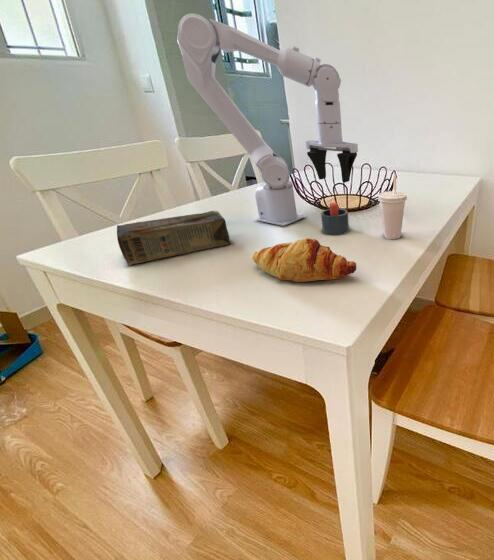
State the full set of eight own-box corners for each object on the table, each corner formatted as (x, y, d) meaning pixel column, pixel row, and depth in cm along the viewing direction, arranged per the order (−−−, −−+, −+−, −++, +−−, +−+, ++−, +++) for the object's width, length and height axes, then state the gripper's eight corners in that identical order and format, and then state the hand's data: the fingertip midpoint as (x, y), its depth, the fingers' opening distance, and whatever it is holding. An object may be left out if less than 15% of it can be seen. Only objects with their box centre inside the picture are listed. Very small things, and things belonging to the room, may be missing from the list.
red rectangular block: (329, 229, 82) (327, 204, 79) (334, 226, 84) (332, 202, 81) (336, 230, 81) (334, 205, 79) (341, 227, 83) (339, 203, 80)
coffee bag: (232, 244, 75) (225, 215, 72) (126, 268, 65) (112, 235, 62) (224, 234, 81) (217, 207, 77) (125, 254, 71) (112, 223, 67)
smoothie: (403, 242, 76) (404, 178, 70) (375, 240, 77) (373, 176, 71) (408, 232, 82) (409, 172, 75) (382, 230, 83) (381, 170, 76)
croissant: (249, 287, 65) (226, 262, 59) (271, 247, 70) (253, 219, 64) (353, 301, 60) (340, 275, 53) (368, 256, 65) (359, 227, 58)
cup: (317, 232, 82) (315, 214, 80) (333, 224, 87) (331, 207, 84) (338, 236, 79) (337, 217, 77) (353, 228, 84) (352, 210, 82)
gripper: (363, 122, 83) (365, 179, 89) (316, 121, 89) (321, 174, 95) (346, 124, 77) (350, 185, 84) (297, 122, 83) (304, 179, 90)
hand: (334, 180), depth 89 cm, fingers open, 7 cm apart
